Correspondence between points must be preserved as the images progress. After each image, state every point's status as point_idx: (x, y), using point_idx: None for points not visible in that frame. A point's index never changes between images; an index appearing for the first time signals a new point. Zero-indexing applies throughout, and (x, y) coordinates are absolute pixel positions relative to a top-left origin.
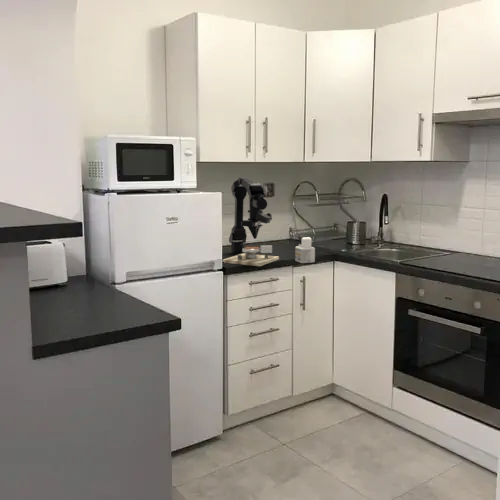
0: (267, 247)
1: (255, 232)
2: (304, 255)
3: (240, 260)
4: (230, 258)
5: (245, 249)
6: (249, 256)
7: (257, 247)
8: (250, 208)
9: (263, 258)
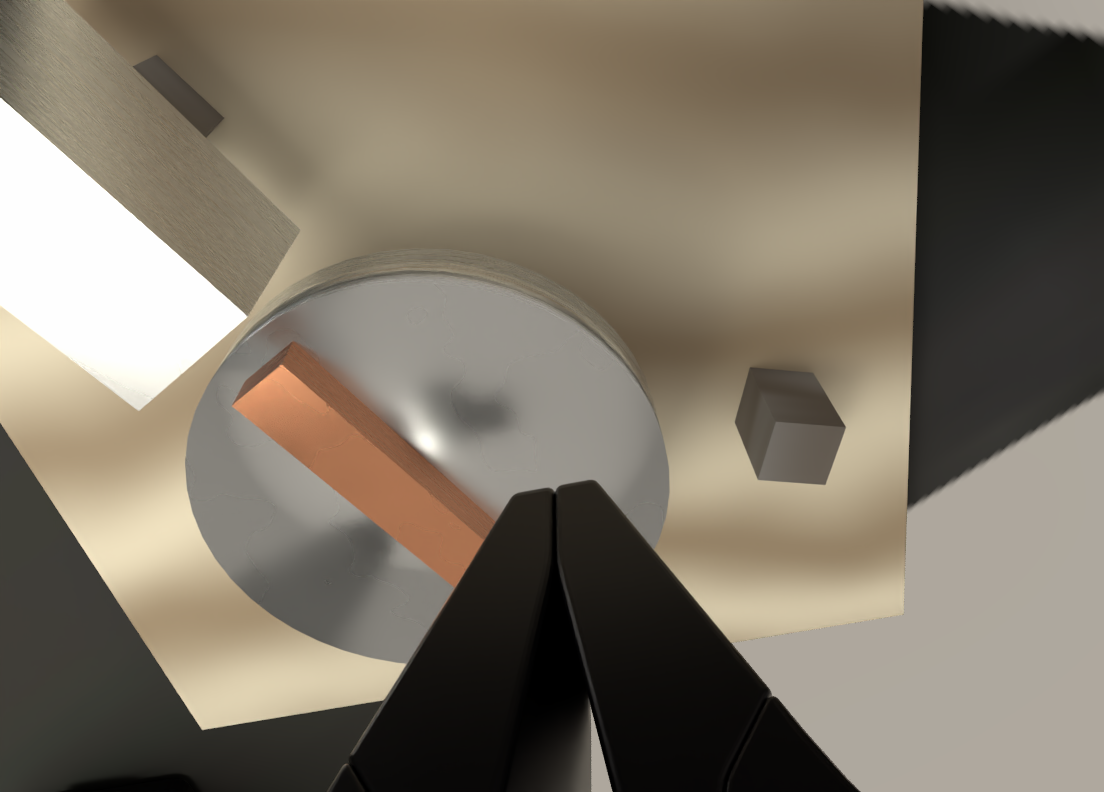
0: (49, 103)
1: (782, 724)
2: None
3: (815, 355)
4: (730, 595)
5: (632, 521)
6: None
7: (310, 388)
8: None
9: (276, 121)
